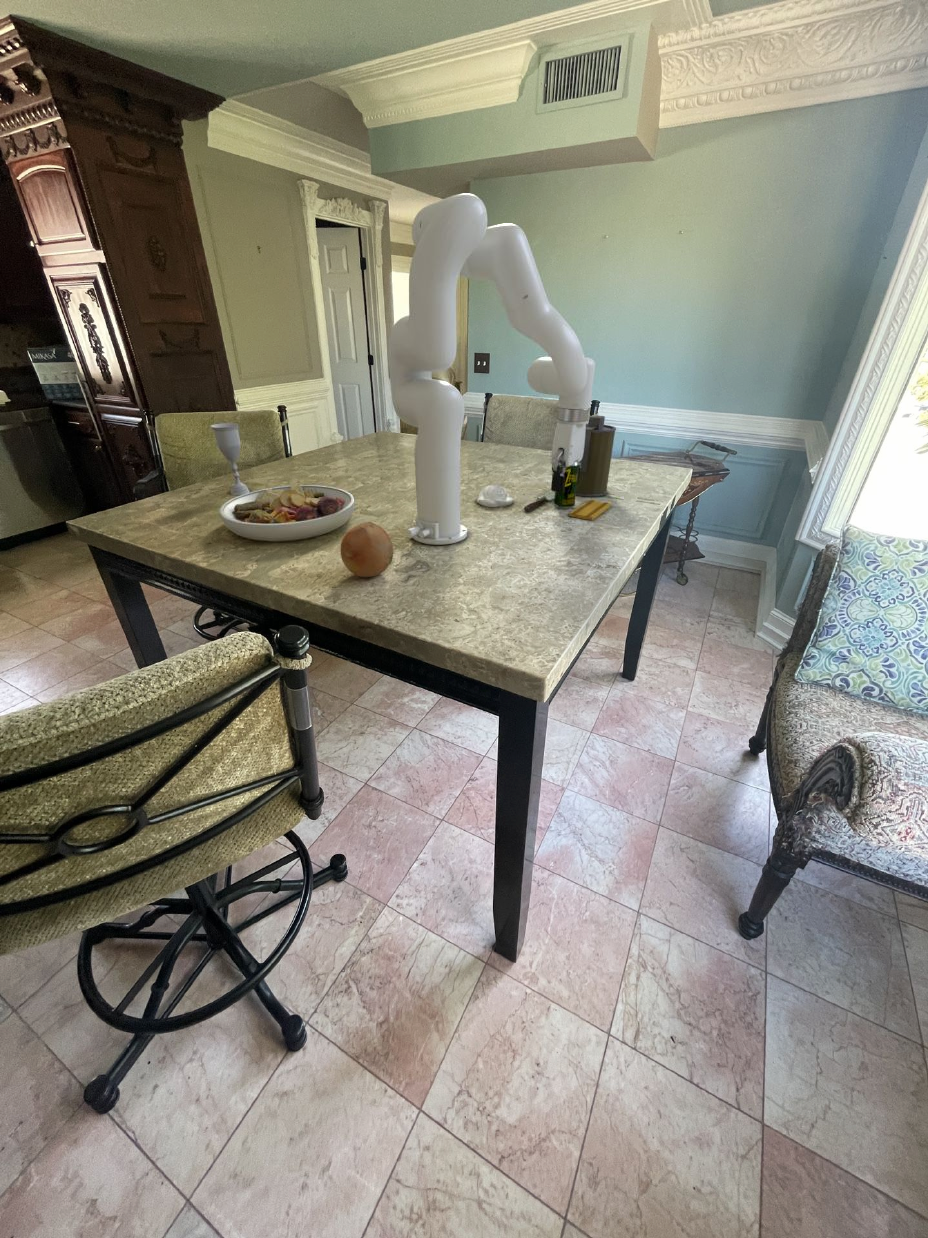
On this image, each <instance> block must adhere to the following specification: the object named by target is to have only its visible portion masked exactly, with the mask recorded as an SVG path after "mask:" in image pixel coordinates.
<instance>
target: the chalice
mask: <svg viewBox="0 0 928 1238" xmlns="http://www.w3.org/2000/svg"><path fill="white" fill-rule="evenodd" d="M210 427H211V429H212V430H213V433H214V437H215V440H216V445H217V447H218V449H219V451H220V452H221V453H222V455H223V456H224V458H225V459H226V460H227V461H228V462H230V463H231V470H232V471H233V474H232V476H233V477H234V480H235V482H234V483H233V484H232V486H231V488H230V489H231V490H230V494H231V495H233V496H240V495H243V494H246V493H250V492H251V491H250V490H249V489H248V486H247V485H246V484H245V483H243V482H242V481H240V474H239V472H238V469H239V467H238V466H237V464H236V461H238V459H239V457H240V452H241V445H242V442H241V437H240V434H239V429H238V428H239V423H237V422H224V423H223V422H222V423H215V424H211V425H210Z"/></svg>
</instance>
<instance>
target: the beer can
mask: <svg viewBox="0 0 928 1238" xmlns="http://www.w3.org/2000/svg"><path fill="white" fill-rule="evenodd" d="M560 463H561V462H560ZM560 468H561V470H562V468H563V467H560ZM578 472H579V459H578V460H577V461H574V464H573V465H571V466H569V467H567V468H566V471H565V473H564V476H565V483H564V491H563V492H562V493H561V492H555V491H554V494H555V497H554V501H553V504H554V507H555V508H557V509H560V510H569V509H570V510H571V509H573V508H574V507H575V505H576V496H577V495H576V489H577V480H578Z"/></svg>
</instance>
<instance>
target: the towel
mask: <svg viewBox="0 0 928 1238" xmlns="http://www.w3.org/2000/svg"><path fill="white" fill-rule="evenodd" d="M611 506H612V503H610V502H606V501H604V502H603V501H597V500H595V499H588V500H587V501H585V502H584V503H582V504H580V505H578V507H576V508H574V509H573V510H571V511H570V512H569V513H568V516H569V517H573V518H577V519H582V520H587V521H593V520H595V519H596V518H598V517H599V516H600V515H601V514H603V513H604V512H606V511H607V510H609V508H611Z"/></svg>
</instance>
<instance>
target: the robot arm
mask: <svg viewBox="0 0 928 1238" xmlns="http://www.w3.org/2000/svg"><path fill="white" fill-rule="evenodd" d="M487 212H488V211H487V207H486V206H485V203H484V201H483V200H482V199H481V198H479V196H477V195H475V194H473V193H459V194H455V195H451V196H448V197H446V198H443V199H441V200H439V201H435V202H433V203H430V204H428V205H426V206H424V207H423V208H421V209H420V210H419V211H418V212H417V213H416V215H415V217H414V219H413V221H412V226H411V238H412V242H413V245H414V247H415V249H414V252H413V254H412V258H411V261H410V268H409V273H408V274H409V275H408V315H405V316H403V317H401V318H400V319H398V320H397V321H396V322H395V323H394V325H393V326H392V328H391V331H390V333H389V336H388V343H387V355H388V357H387V358H388V370H389V379H390V380H389V381H390V392H391V401H392V406H393V409H394V412H395V414H396V416H397V417H398V418H399V420H400V421H402V422H403V423H405V424H406V425H409V426H411V427H414V428H418V429H417V436H416V439H415V444H414V452H413V453H414V455H413V456H414V474H415V476H414V477H415V492H416V493H415V496H416V497H415V498H416V516H417V517H416V518H415V519H414V520H415V524H414V525H413V526H412V527H409V528H407V529H405V532H404V535H405V537H406V538H407V539H413V540H414V541H416V542H419V543H421V544H426V545H433V546H435V545H436V546H439V545H441V546H443V545H451V544H456V543H459V542H461V541H463V540H465V539H466V538H467V536H468V528H467V527H466V526H465V525H464V524H461V444H462V443H461V442H462V433H463V432H462V431H463V426H464V421H465V414H466V411H465V410H466V408H465V401H464V399H463V395H462V394H461V392H460V391H459V389H458V388H457V387H455V385H453V384H451V383H449V382H447V381H445V380H441V379H434V378H433V375H432V374H433V373H440V372H444V371H447V370H449V369H450V368H451V367H452V365H454V363H455V360H456V358H457V349H458V348H457V347H458V337H457V334H458V331H457V289H458V288H457V287H458V280H459V277H460V276H461V277H463V278H466V279H469V280H473V281H476V282H486V281H487V282H488V281H492V283H493V285H494V288H495V290H496V292H497V295H498V298H499V300H500V303H501V305H502V307H503V310H504V312H505V315H506V318H507V320H508V323H509V324H510V325H511V327H512V328H513V329H514V330H516V331H517V332H519V333H520V334H522V335H523V336H524V337H526V338H528V339H530V341H533V342H534V343H536V344H537V345H539V346H540V347H541V348H542V349H543V350H544V351H545V353H546V354H547V355H548V356H543V357H538V358H537V359H535V360H534V361H533V362H531V364H530V366H529V367H528V370H527V374H526V380H527V383H528V385H529V387H530V388H531V389H532V390H533V391H535V392H537V393H540V394H543V395H550V396H558V401H557V413H556V426H555V430H554V435H553V441H552V447H551V454H550V464H551V475H552V476H551V485H550V491H552V492H554V493H555V492H561V493H562V492H563V491H564V483H565V476H564V473H565V471H566V468H567V467H569V466H571V465H573V464H574V461H577V460H578V459H579V472H578V480H577V484H578V483H579V478H580V470H581V466H582V463H581V461H582V458H583V452H584V444H585V431H586V424H587V423H588V424H589V422H588V421H589V419H590V411H591V405H592V396H593V387H594V379H595V372H596V362H595V360H594V359H593V358H590V357H585V354H584V349H583V347H582V345H581V342H580V339H579V338H578V335H577V334H576V332H575V331H574V329H573V327H572V326H571V325H570V324H569V323H568V322H567V321H566V320H565V318H564V317H563V316H562V314H561V313H560V312H558V310H557V309H556V308H555V307H554V306H553V305H552V304H551V303H550V301H549V298H548V296H547V293H546V290H545V287H544V284H543V281H542V278H541V276H540V272H539V270H538V267H537V263H536V261H535V258H534V255H533V251H532V249H531V246H530V243H529V241H528V238H527V235H526V233H525V231H524V230H523V229H522V228H521V226H519V225H517V224H514V223H500V224H496V225H491V226H488V213H487ZM560 462H561V463H560ZM560 467H563V468H562V470H561V468H560Z"/></svg>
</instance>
